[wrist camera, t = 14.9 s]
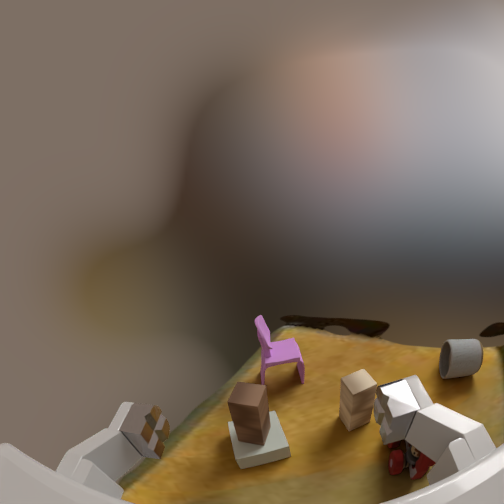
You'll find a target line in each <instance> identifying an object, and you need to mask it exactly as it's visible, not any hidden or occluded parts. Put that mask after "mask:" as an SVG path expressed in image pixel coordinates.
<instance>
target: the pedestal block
mask: <svg viewBox="0 0 504 504" xmlns="http://www.w3.org/2000/svg"><path fill="white" fill-rule="evenodd" d="M269 415H270V424H271V427H270V430H269V433H268V436H267V439H266V442H265V445H264V446H263V445H257V444H251V443H245V442H240V441H238V438H237V434H236V431H235V427H234V424H233V421H231V422H228V426H229V431H230V436H231V441H232V446H233V450H234V455H235V460H236V461H237V463H238V465H239V467H240V469H244V468H249V467H253V466H257V465H262V464H266V463H269V462H273V461H277V460H280V459H284V458H287V457H291V454H290V449H289V445H288V442H287V440H286V437H285V435H284V432H283V430H282V427H281V425H280V422H279V420H278V417H277V415H276V412H275V411H271V412H269Z"/></svg>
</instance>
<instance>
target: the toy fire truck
mask: <svg viewBox="0 0 504 504" xmlns="http://www.w3.org/2000/svg"><path fill="white" fill-rule="evenodd" d="M404 440H405V439H404ZM400 441H401V440H399V441H396V442H392V443H389V444H387V445H388V447H389V448H395V447H398V446H399V445H400ZM405 443H406V450H407V451H406V453H403V451H402V450H400V449H399V450H394V451H392V452H391V453H390V456H389V464H388V468H389V473H390V475H396V474H400V473H401V472H402V470H403V469H404V468H407V467H409V471H410V478H411V479H412V480H414V479H419V478H421V477H422V476H423V475H424V474H425V473H426V472H427V470H428V469H429V467H430V466H433V465H434V464H435V463H436V462H434V461H433V460H432V459H430V458H429V457H428V456H426V455H425V454H423V453H422V452H421V451H419V450H418V449H417V448H415V447H414V446H413V445H411V444H410V443H409V442H407V441H406V440H405Z"/></svg>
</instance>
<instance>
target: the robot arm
mask: <svg viewBox="0 0 504 504" xmlns="http://www.w3.org/2000/svg"><path fill="white" fill-rule="evenodd" d="M376 395H377V398H376V399H375V400H374V416H375V420H376V423H378V424H379V425H381V428H380V431H379V432H380V435H381V438H382V441H383V444H384V445H385V444H389V443H392V442H396V441H399V440H402V439H405V440H406V441H407V442H409V443H410V444H411V445H413V446H414V447H415V448H417V449H418V450H419V451H421V452H422V453H423V454H425V455H426V456H428V457H429V458H430V459H432V460H433V461H434V462H436V463H435V465H434V466H433V467H432V469H431V470H430V471H429V473H428V474H427V478H428V481H429V484H430V486H427V487H425V488H422V489H420V490H418V491H415V492H412V493H410V494H407V495H404V496H402V497H399V498H396V499H393V500H390V501H387V502H383V503H380V504H504V444H502V445H501V446H499V447H498V448H496V447H495V445H494V444H493V442H492V440H491V438H490V436H489V435H488V433H487V431H486V429H485V428H484V426H483V424H481V423H478V422H476V421H474V420H472V419H470V418H467V417H465V416H463V415H461V414H459V413H457V412H454V411H452V410H450V409H448V408H446V407H444V406H442V405H440V404H438V403H435V404H433V402H432V401H431V399H430V397H429V395H428V394H427V392H426V390H425V388H424V387H423V385H422V383H421V382H420V380H419V378H418V377H417V376H416V375H414V376H410V377H407V378H404V379H400V380H397V381H393V382H390V383H387V384H383V385H380V386H378V387H377V389H376ZM161 412H162V411H161V409H160V408H159V406H155V405H147V404H139V403H131V402H124V403H123V404H121V406H120V408H119V409H118V411H117V413H116V415H115V417H114V419H113V420H112V422H111V424H110V426H109V428H108V429H107V428H105V429H103V430H102V431H100V432H98V433H97V434H95V435H94V436H92V437H90V438H89V439H87V440H85V441H83V442H82V443H80V444H78V445H77V446H75V447H73V448H72V449H70V450H68V451H67V452H66V454H65V456H64V457H63V459H62V461H61V463H60V464H59V466H58V468H57V470H56V471H53V470H51V469H50V468H48V467H46V466H44V465H42V464H41V463H39V462H37V461H36V460H34V459H32V458H31V457H29V456H27V455H26V454H24V453H23V452H21V451H20V450H18V449H17V448H15V447H14V446H12V445H11V444H9V443H3V444H0V504H134V503H131V502H127V501H124V500H121V496H122V494H123V489H122V488H121V487H120V486H119V485H118V484H117V483H115V481H116V480H118V479H119V478H120V477H121V476H122V475H123V474H125V473H126V472H127V471H128V470H129V469H130V468H131V467H132V466H134V465H135V464H136V463H137V462H138V461H139V460H140V459H141V458H142V456H143V457H150V458H156V459H161V456H162V454H163V451H164V448H165V446H164V444H163V442H164V441H165V440H166V439H168V436H169V430H170V428H169V423H168V421H167V419H166V418H165V417H164V416H162V415H161Z"/></svg>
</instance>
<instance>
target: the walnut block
mask: <svg viewBox="0 0 504 504" xmlns="http://www.w3.org/2000/svg"><path fill="white" fill-rule="evenodd" d="M228 406H229V409H230V413H231V417H232V420H233V424H234V427H235V431H236V434H237V438H238V441H240V442H245V443H251V444H257V445H263V446H264V445H265V442H266V439H267V436H268V433H269V430H270V427H271V424H270V415H269V407H268V398H267V389H266V385H259V384H251V383H244V382H237V384H236V386H235V388H234V390H233V392H232V394H231V396H230V398H229V400H228Z"/></svg>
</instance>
